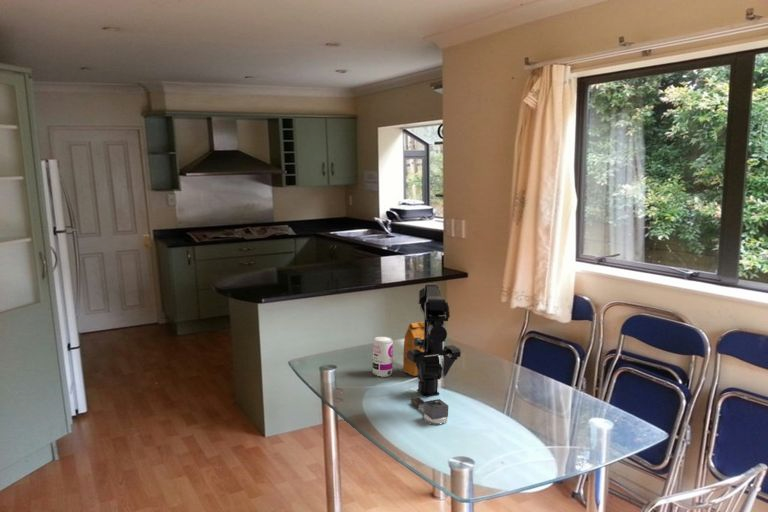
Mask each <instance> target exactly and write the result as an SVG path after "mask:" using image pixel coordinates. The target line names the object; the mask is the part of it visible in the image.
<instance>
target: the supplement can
mask: <svg viewBox="0 0 768 512" xmlns="http://www.w3.org/2000/svg"><path fill="white" fill-rule="evenodd" d="M393 352H394V341H393V339H392V338H391V337H390V336H377V337H374V339H373V341H372V374H373V375H374V374H375V375H377V376H376V377H378V376H381V377H380V378H387V377H390V376H391V375H392V374H393V363H394V362H393V360H394V359H393V357H394V353H393ZM375 375H374V376H375Z"/></svg>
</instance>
